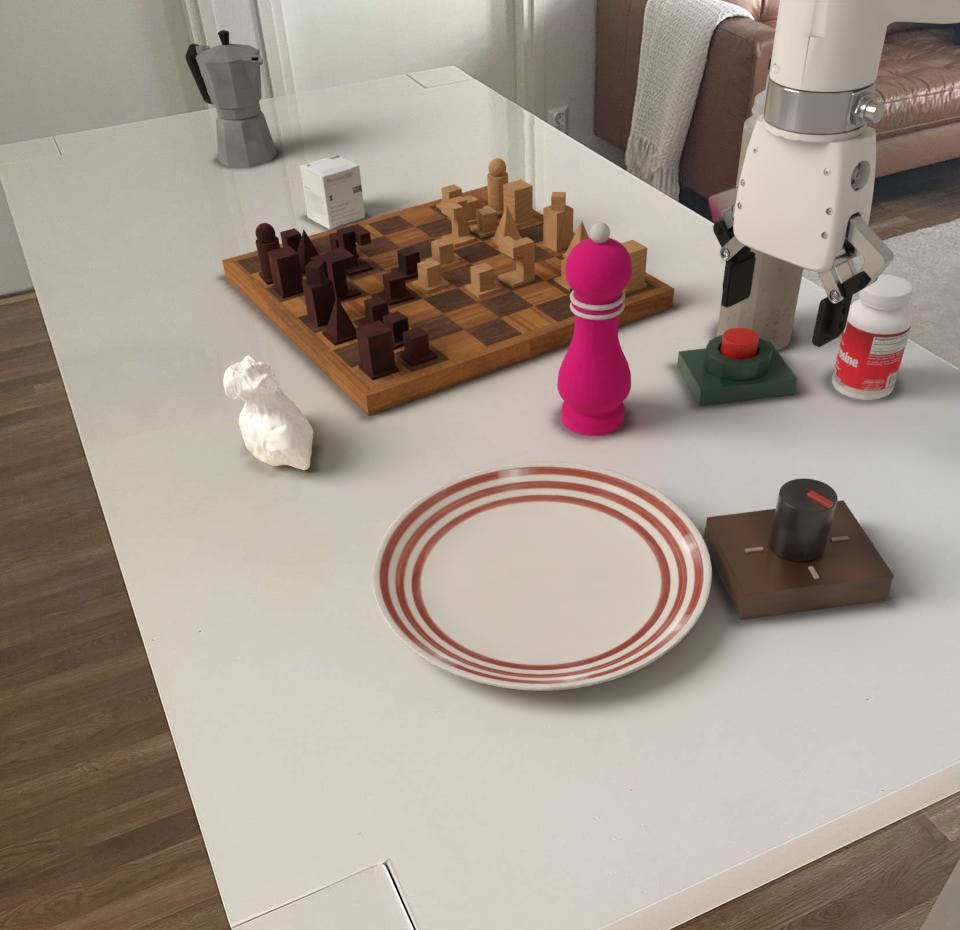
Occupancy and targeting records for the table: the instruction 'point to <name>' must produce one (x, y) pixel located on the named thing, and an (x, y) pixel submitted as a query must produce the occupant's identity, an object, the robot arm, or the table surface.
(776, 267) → the thermos bottle
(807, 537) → the knob
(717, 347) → the housing
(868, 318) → the pill bottle
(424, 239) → the gameboard
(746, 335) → the button
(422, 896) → the table surface
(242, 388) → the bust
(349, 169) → the white cardboard box
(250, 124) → the coffeepot
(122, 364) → the table surface
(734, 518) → the panel
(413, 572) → the dinner plate
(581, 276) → the pepper mill
